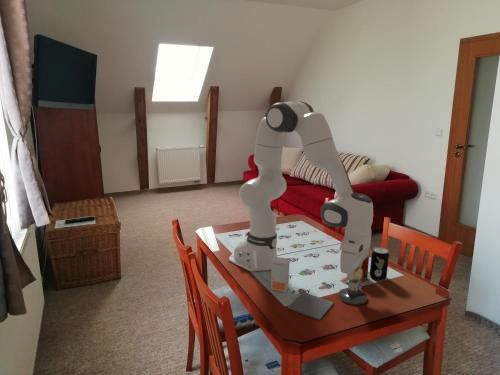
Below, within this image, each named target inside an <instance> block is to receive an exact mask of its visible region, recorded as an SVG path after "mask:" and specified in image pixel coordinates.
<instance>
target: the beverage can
mask: <svg viewBox="0 0 500 375" xmlns="http://www.w3.org/2000/svg"><path fill="white" fill-rule="evenodd" d="M389 253H390V252H389V250H388V248H385V247H380V246H376V247H373V248H372V251H371V256H370V264H369V265H370V266H369V276H370V277H371V279H373V280H375V281H384V280H386V278H388V277H387V276H388V268H389V259H390V254H389Z"/></svg>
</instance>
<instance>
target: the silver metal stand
mask: <svg viewBox="0 0 500 375" xmlns="http://www.w3.org/2000/svg"><path fill="white" fill-rule="evenodd" d="M345 285H347V287H346V288H345V287H344V288H342V289H340V290H339V292H338V299H340V301H342V302H343V303H346V304H348V305H351V306H361V305H365V303H366V302H367V301H368V295H367V294H366V293H365V292H364V291H362V289H363V285H360V282H351V281H349V280H347V281H345Z"/></svg>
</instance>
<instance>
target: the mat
mask: <svg viewBox="0 0 500 375" xmlns="http://www.w3.org/2000/svg"><path fill="white" fill-rule="evenodd" d="M334 304H335V302H333V301H331V300H328V299H326V298H325V299H324V298H323V297H320V296H316V295H313V294H310V293H307V292H305V291H303V292H301V294H299V296H297V297H296V298H295V299H294V300H293V301H292V302H291V303H290V304H289V305H288V306H287V309H288V310H290V311H294V312H297V313H300V314H302V315H304V316H307V317H310V318H313V319H314V320H317V321H321V319H322V318H323V317H324V315H326V314H327V313H328V311H329V310H330V309H331V308H332V306H334Z"/></svg>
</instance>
